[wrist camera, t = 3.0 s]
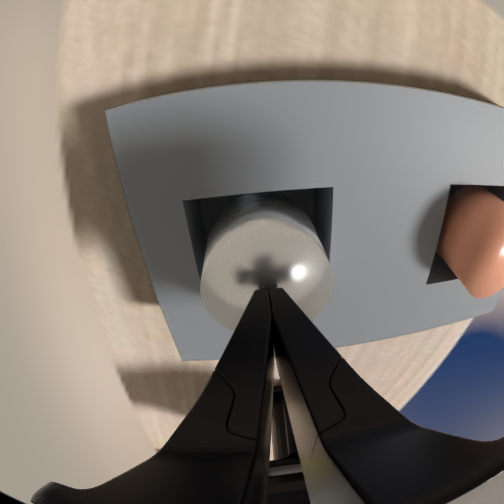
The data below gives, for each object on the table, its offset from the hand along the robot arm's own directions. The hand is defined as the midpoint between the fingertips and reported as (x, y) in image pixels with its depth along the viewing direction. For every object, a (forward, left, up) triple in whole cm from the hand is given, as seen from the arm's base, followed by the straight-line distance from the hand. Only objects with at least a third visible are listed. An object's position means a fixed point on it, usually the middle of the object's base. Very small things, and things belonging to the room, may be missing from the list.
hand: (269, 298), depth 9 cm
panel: (0, -5, -6) cm, 8 cm away
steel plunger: (0, 0, -3) cm, 3 cm away
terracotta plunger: (0, -10, -3) cm, 10 cm away
